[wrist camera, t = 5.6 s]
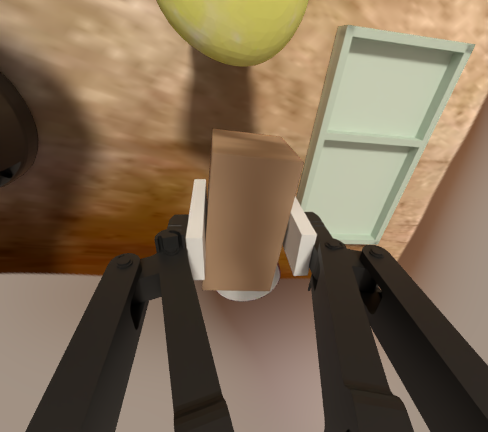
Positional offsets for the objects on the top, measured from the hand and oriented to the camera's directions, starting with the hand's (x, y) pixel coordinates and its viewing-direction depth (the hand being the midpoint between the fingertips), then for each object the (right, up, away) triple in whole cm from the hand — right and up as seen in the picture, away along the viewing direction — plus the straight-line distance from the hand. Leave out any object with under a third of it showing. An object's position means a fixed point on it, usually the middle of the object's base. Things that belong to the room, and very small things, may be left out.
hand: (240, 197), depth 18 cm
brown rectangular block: (0, 0, +1) cm, 1 cm away
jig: (+15, +7, +16) cm, 23 cm away
